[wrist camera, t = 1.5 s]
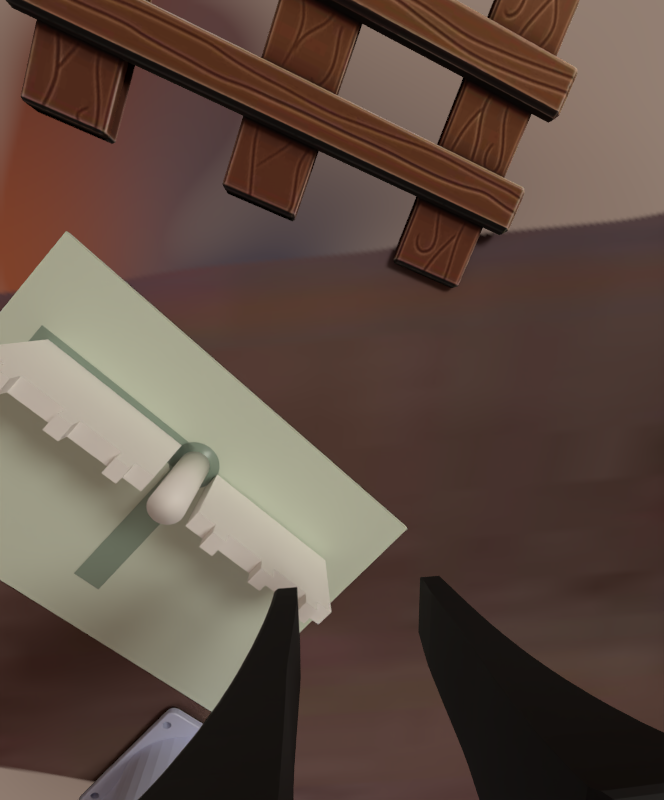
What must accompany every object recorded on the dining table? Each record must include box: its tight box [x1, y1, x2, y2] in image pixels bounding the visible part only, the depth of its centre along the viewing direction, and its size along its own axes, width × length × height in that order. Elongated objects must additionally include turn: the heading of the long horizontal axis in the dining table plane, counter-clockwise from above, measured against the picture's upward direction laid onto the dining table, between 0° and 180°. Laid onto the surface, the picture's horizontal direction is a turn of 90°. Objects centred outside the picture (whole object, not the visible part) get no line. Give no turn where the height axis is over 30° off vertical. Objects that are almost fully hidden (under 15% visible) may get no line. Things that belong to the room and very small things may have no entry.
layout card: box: [0, 231, 407, 712], centre depth 21 cm, size 17×23×1 cm
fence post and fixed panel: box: [0, 339, 210, 525], centre depth 18 cm, size 2×10×5 cm, turn 46°
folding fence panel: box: [186, 475, 331, 624], centre depth 19 cm, size 8×1×5 cm, turn 46°
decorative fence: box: [6, 0, 580, 288], centre depth 17 cm, size 23×2×15 cm
